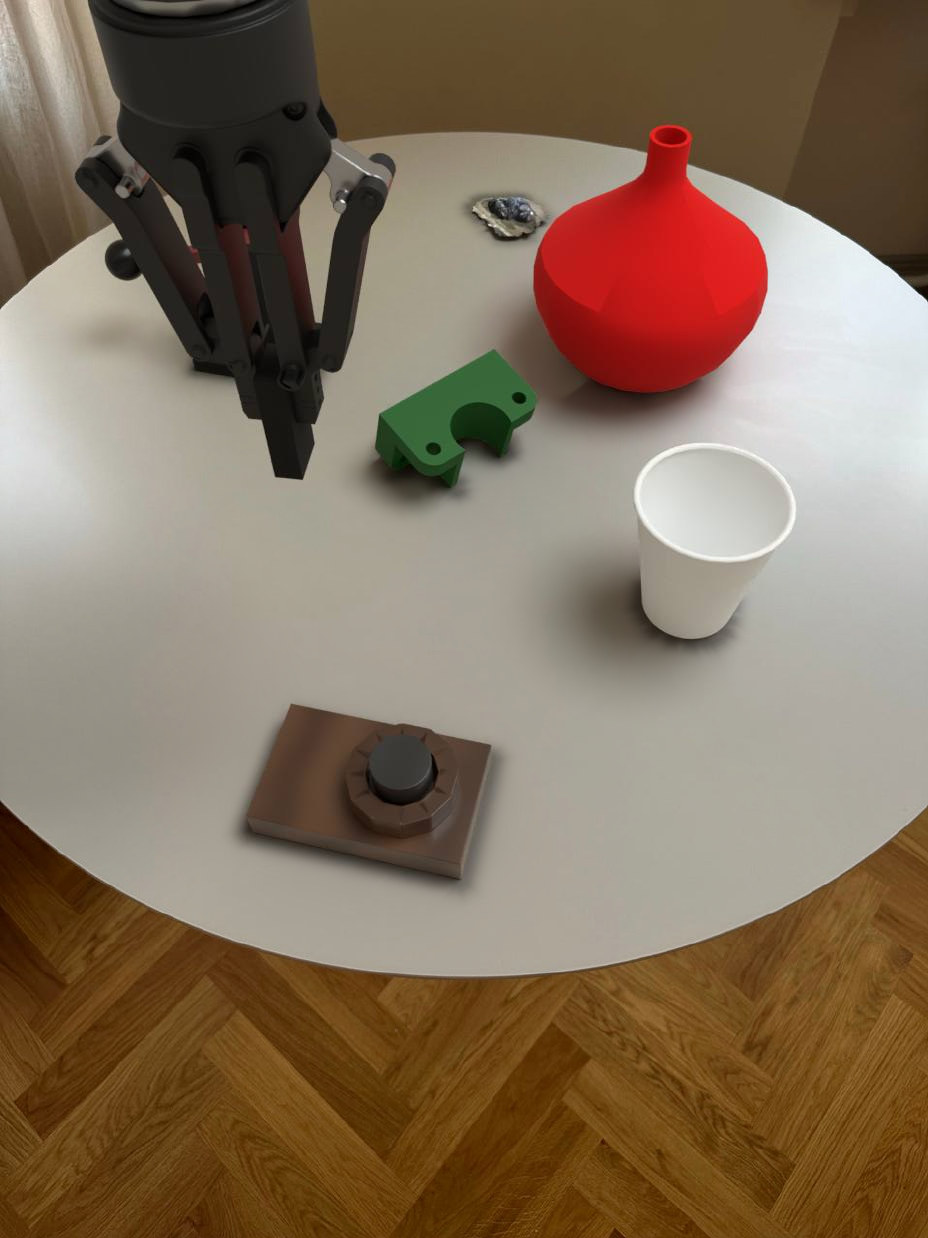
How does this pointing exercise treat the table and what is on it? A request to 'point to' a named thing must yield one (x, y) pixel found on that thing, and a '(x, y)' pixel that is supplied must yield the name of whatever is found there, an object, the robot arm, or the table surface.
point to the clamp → (455, 417)
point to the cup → (706, 533)
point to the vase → (650, 277)
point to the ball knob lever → (125, 265)
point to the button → (401, 768)
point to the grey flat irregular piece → (510, 215)
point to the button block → (368, 793)
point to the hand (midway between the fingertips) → (295, 459)
